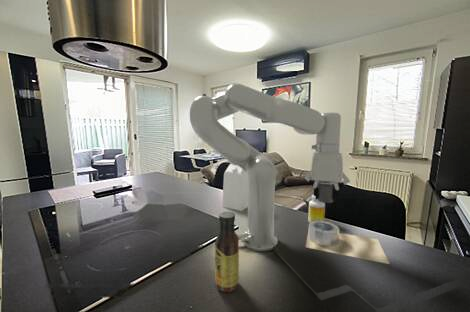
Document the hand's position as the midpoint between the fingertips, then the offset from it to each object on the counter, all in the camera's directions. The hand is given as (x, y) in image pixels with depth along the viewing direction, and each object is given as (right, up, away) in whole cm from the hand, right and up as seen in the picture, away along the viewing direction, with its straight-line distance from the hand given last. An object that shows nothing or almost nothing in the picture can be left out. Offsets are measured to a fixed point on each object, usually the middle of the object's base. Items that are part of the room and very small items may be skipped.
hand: (325, 198), depth 76 cm
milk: (-31, -12, +41) cm, 53 cm away
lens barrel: (0, -15, +2) cm, 15 cm away
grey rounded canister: (0, -1, 0) cm, 1 cm away
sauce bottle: (-35, -19, -20) cm, 44 cm away
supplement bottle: (+3, -15, +17) cm, 23 cm away
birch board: (+6, -17, -1) cm, 18 cm away
